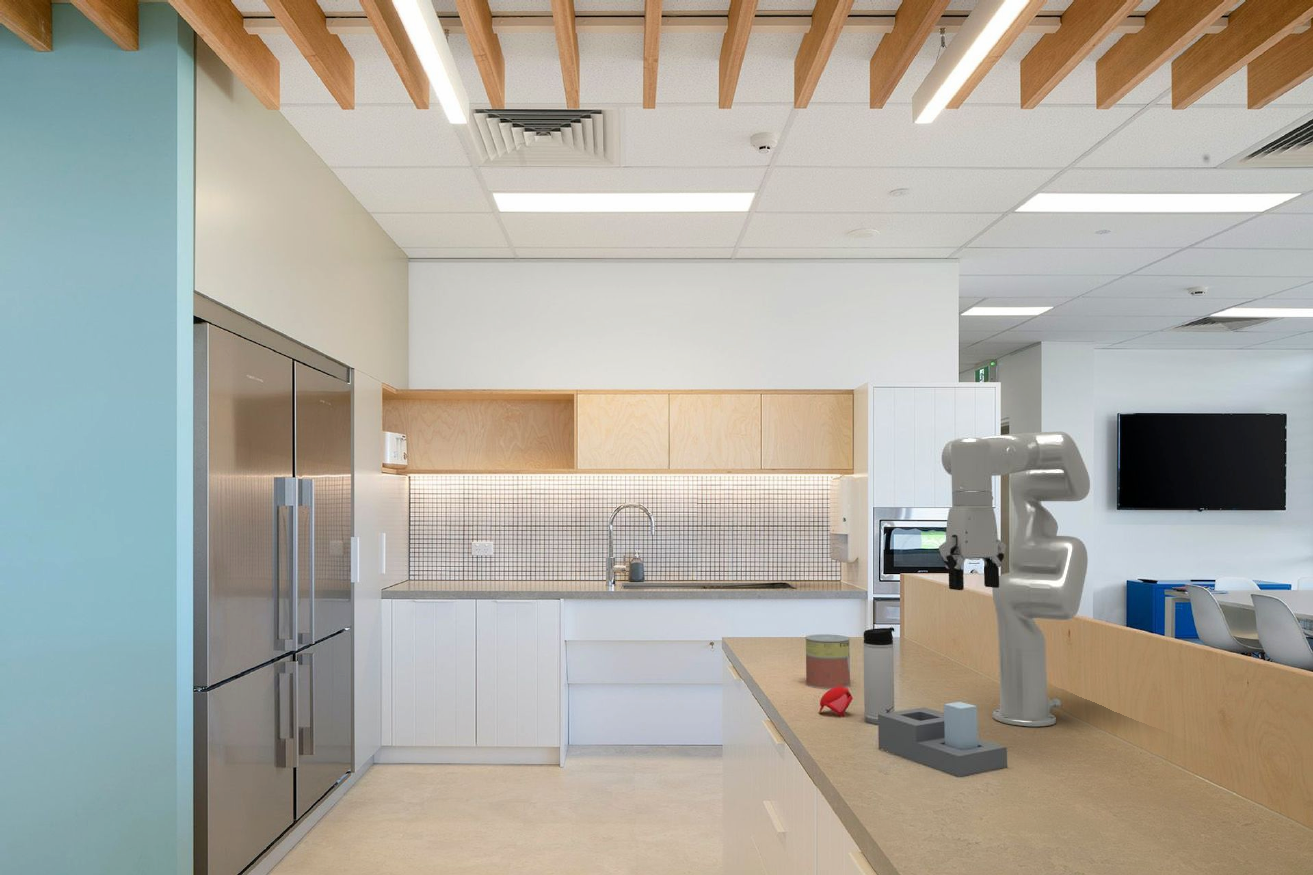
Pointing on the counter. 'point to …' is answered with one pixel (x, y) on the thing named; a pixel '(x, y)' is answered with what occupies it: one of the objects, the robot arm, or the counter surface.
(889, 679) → the travel mug
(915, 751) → the socket panel
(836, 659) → the canned food
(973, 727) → the plug
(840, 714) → the cap
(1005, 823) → the counter surface
